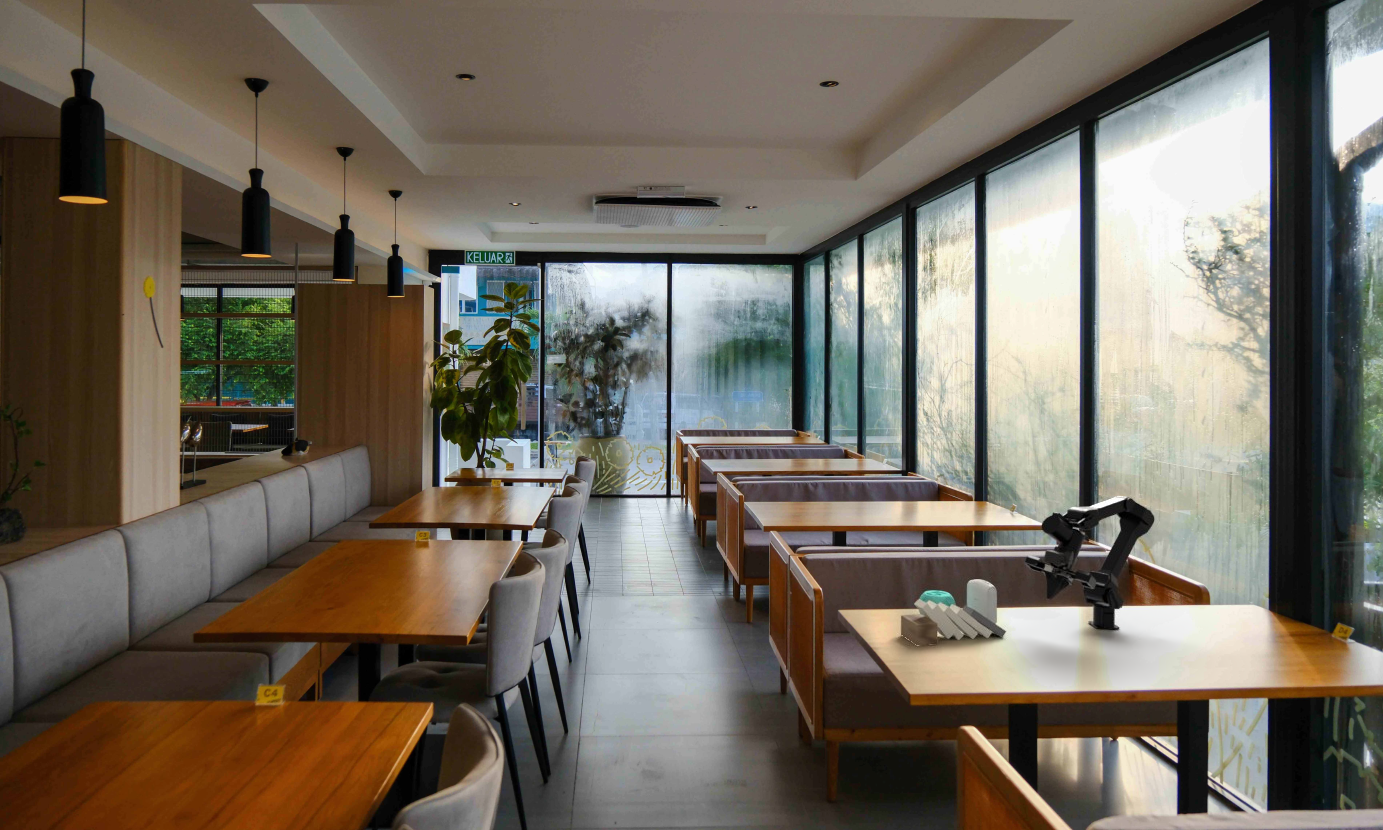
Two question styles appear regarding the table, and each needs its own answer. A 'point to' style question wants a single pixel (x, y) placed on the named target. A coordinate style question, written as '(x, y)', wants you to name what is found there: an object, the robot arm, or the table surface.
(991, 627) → the charcoal domino
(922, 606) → the ivory domino
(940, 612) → the ivory domino
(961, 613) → the ivory domino
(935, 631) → the walnut end block
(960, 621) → the ivory domino
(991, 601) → the white rounded block
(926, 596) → the decorative dice
